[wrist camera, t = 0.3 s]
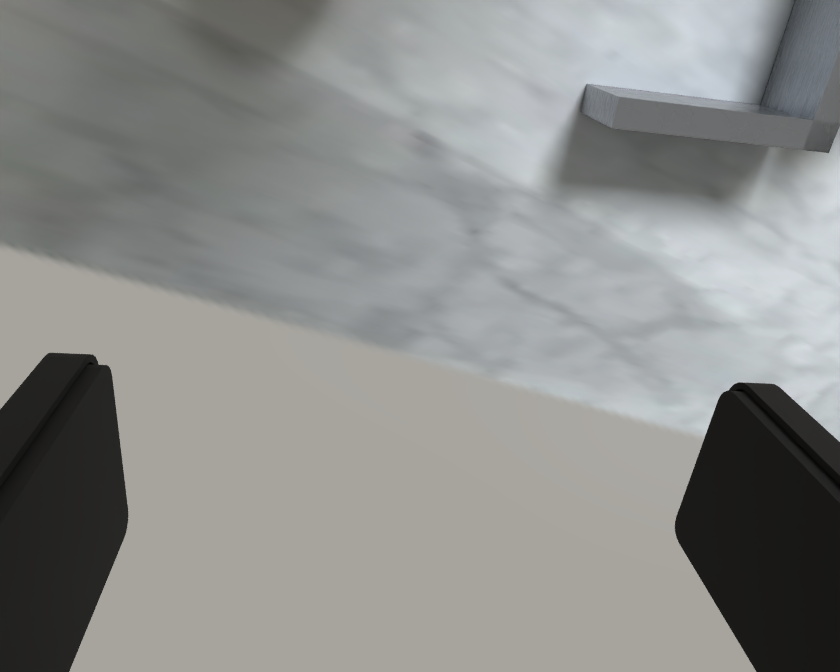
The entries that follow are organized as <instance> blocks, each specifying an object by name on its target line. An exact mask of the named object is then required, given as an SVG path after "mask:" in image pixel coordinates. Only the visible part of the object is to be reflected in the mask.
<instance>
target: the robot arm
mask: <svg viewBox="0 0 840 672" xmlns="http://www.w3.org/2000/svg"><path fill="white" fill-rule="evenodd" d="M127 523H128V506H127V498H126V489H125V481H124V473H123V465H122V456H121V448H120V439H119V431H118V422H117V414H116V406H115V397H114V389H113V381H112V374H111V370H110V368H109V366H107V365H98V361H97V359H96V357H95V356H94V355H90V354H66V353H65V354H64V353H48V354H47V355H46V356H45V357H44V358H43V359H42V360H41V362H40V363H39V364H38V365H37V366H36V368H35V369H34V370H33V371H32V372H31V373H30V375H29V376H28V377H27V378H26V380H25V381H24V382H23V383H22V384H21V385H20V387H19V388H18V389H17V390H16V392H15V393H14V394H13V395H12V396H11V397H10V399H9V400H8V401H7V403H5V405H4V406H3V407H2V408H1V409H0V672H69V671H70V668H71V666H72V663H73V661H74V658H75V656H76V653H77V651H78V649H79V646H80V644H81V641H82V639H83V636H84V634H85V631H86V629H87V627H88V624H89V622H90V619H91V617H92V614H93V612H94V610H95V607H96V605H97V602H98V600H99V598H100V595H101V593H102V590H103V588H104V585H105V583H106V581H107V578H108V576H109V573H110V571H111V568H112V566H113V564H114V561H115V559H116V556H117V554H118V551H119V549H120V546H121V544H122V542H123V539H124V536H125V533H126V529H127ZM675 532H676V536H677V539H678V542H679V544H680V545H681V547H682V548H683V550H684V552H685V554H686V555H687V557H688V559H689V560H690V562H691V564H692V565H693V567H694V569H695V570H696V572H697V574H698V575H699V577H700V578H701V580H702V582H703V583H704V585H705V587H706V588H707V590H708V592H709V593H710V595H711V597H712V598H713V600H714V602H715V603H716V605H717V607H718V608H719V610H720V612H721V613H722V615H723V617H724V618H725V620H726V622H727V623H728V625H729V626H730V628H731V630H732V632H733V633H734V635H735V637H736V638H737V640H738V642H739V643H740V645H741V647H742V648H743V650H744V652H745V653H746V655H747V657H748V658H749V660H750V662H751V663H752V665H753V666H754V668H755V670H756V672H840V442H839V441H838V440H837V439H836V438H834V437H833V436H832V435H831V434H830V433H829V432H828V431H827V430H826V429H825V428H823V427H822V426H821V425H820V424H819V423H818V422H817V421H816V420H815V419H814V418H813V417H811V416H810V415H809V414H808V413H807V412H806V411H805V410H804V409H803V408H802V407H801V406H799V405H798V404H797V403H796V402H795V401H794V400H793V399H792V398H791V397H790V396H788V395H787V394H786V393H785V392H784V391H783V390H782V389H781V388H780V387H778V386H776V385H775V384H762V383H736V384H734V385H733V386H732V387H731V388H730V390H729V391H726V392H724V393H723V394H722V395H721V396H720V398H719V400H718V402H717V405H716V408H715V411H714V414H713V416H712V419H711V422H710V425H709V428H708V430H707V433H706V436H705V439H704V442H703V444H702V448H701V450H700V453H699V456H698V458H697V461H696V464H695V467H694V469H693V472H692V475H691V478H690V481H689V484H688V486H687V489H686V492H685V495H684V497H683V500H682V503H681V506H680V509H679V511H678V514H677V517H676V521H675Z"/></svg>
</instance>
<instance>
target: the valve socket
mask: <svg viewBox="0 0 840 672" xmlns="http://www.w3.org/2000/svg"><path fill="white" fill-rule="evenodd" d="M581 112H582V113H584V114H585V115H587V116H589V117H591V118H593V119H595V120H597V121H599V122H600V123H602V124H604V125H606V126H608V127H610V128H613V129H622V130H631V131H639V132H648V133H657V134H666V135H675V136H684V137H693V138H701V139H710V140H719V141H728V142H737V143H746V144H755V145H764V146H772V147H781V148H790V149H799V150H808V151H817V152H826V153H829V151H830V148H831V146H832V143H833V141H834V138H835V136H836V133H837V131H838V128H839V125H840V0H796V1H795V4H794V7H793V9H792V12H791V15H790V18H789V21H788V24H787V27H786V30H785V33H784V36H783V39H782V42H781V45H780V48H779V51H778V54H777V57H776V60H775V63H774V66H773V69H772V72H771V75H770V78H769V81H768V84H767V87H766V90H765V93H764V96H763V99H762V102H761V105H755V104H747V103H739V102H731V101H723V100H714V99H706V98H698V97H690V96H682V95H673V94H665V93H657V92H649V91H641V90H632V89H624V88H616V87H608V86H600V85H591V84H587V85H586V90H585V94H584V99H583V103H582V108H581Z"/></svg>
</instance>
